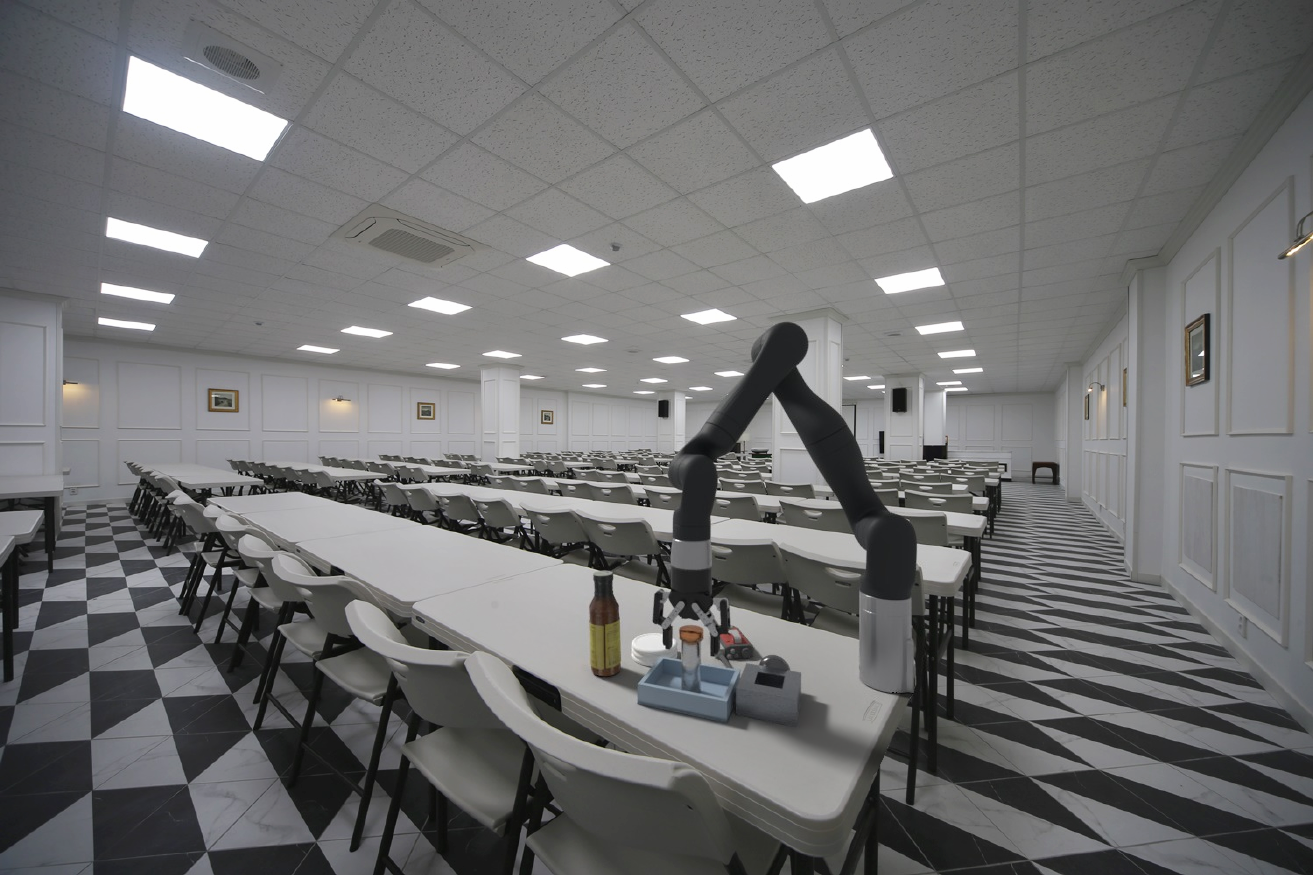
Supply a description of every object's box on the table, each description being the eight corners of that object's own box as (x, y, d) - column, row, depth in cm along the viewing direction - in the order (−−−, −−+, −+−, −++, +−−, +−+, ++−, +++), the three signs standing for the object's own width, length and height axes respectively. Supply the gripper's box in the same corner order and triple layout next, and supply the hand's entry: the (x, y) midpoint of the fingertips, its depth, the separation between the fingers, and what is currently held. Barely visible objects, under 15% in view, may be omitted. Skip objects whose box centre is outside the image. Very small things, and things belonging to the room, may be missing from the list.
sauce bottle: (621, 663, 100) (622, 568, 100) (620, 678, 93) (621, 576, 94) (590, 663, 99) (591, 568, 100) (586, 678, 93) (587, 576, 93)
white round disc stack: (685, 654, 105) (685, 638, 105) (661, 672, 96) (661, 654, 96) (647, 644, 110) (648, 628, 110) (622, 660, 102) (622, 643, 102)
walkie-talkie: (701, 637, 114) (725, 677, 95) (701, 619, 114) (726, 655, 95) (736, 636, 116) (767, 675, 96) (736, 617, 116) (768, 653, 96)
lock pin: (705, 689, 88) (705, 626, 88) (699, 700, 84) (699, 635, 84) (683, 684, 90) (683, 623, 90) (675, 696, 86) (676, 632, 86)
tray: (740, 688, 90) (740, 669, 90) (726, 722, 78) (726, 701, 78) (660, 673, 95) (660, 656, 95) (637, 703, 84) (637, 683, 84)
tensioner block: (801, 691, 89) (801, 658, 89) (797, 727, 77) (797, 690, 78) (748, 681, 92) (748, 650, 92) (736, 714, 81) (736, 679, 81)
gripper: (733, 561, 88) (733, 649, 88) (662, 554, 93) (661, 637, 93) (725, 571, 81) (724, 666, 81) (648, 563, 86) (647, 653, 86)
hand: (690, 651), depth 87 cm, fingers open, 8 cm apart
